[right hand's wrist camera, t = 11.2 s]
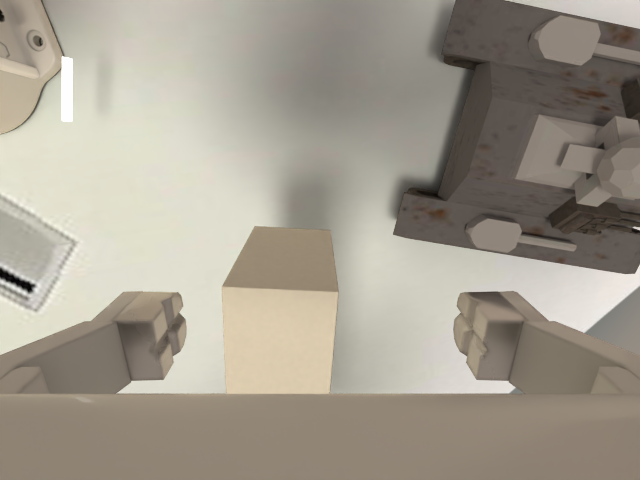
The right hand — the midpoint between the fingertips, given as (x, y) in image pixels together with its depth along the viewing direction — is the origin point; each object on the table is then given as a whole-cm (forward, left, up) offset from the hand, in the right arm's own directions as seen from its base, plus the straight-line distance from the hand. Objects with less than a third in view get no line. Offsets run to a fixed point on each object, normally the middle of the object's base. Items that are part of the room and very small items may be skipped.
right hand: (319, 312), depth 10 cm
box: (+17, -3, -17) cm, 24 cm away
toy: (-2, +21, -28) cm, 35 cm away
